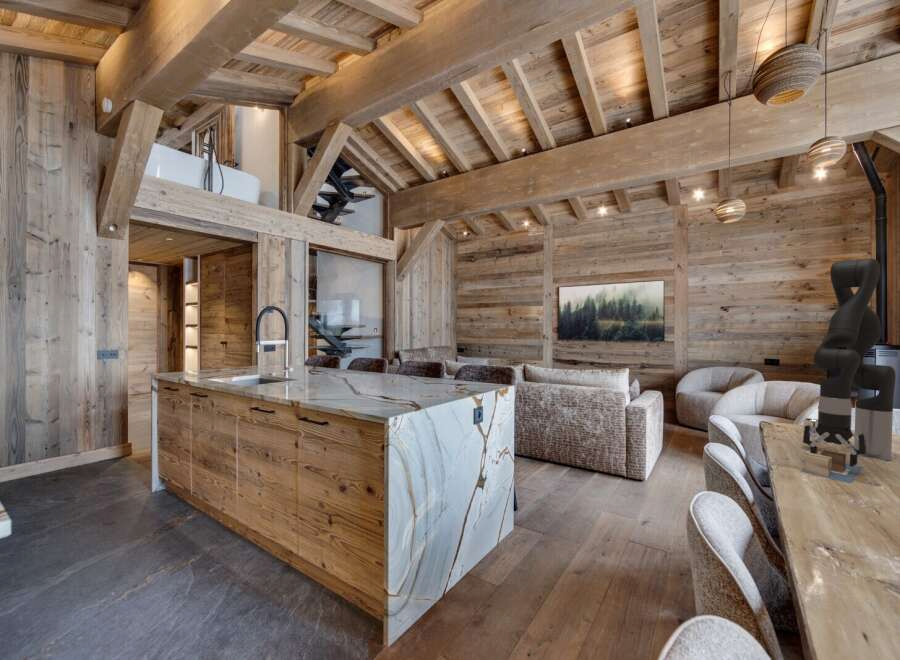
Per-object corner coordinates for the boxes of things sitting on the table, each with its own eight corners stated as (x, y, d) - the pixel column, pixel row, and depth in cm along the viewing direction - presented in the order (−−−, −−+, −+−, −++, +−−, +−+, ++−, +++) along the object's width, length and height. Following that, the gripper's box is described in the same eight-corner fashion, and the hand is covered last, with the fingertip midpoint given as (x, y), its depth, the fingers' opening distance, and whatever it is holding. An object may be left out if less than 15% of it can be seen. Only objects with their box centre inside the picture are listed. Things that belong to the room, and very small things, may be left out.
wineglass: (827, 455, 143) (828, 422, 143) (808, 453, 144) (809, 421, 144) (815, 450, 148) (816, 418, 148) (798, 449, 150) (799, 417, 149)
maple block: (809, 468, 125) (810, 452, 125) (831, 473, 121) (831, 457, 121) (805, 471, 122) (806, 455, 122) (827, 476, 118) (828, 460, 118)
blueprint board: (817, 460, 136) (817, 457, 136) (863, 470, 128) (863, 466, 128) (800, 474, 123) (800, 471, 123) (850, 486, 114) (850, 482, 114)
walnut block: (824, 465, 128) (824, 449, 128) (845, 469, 124) (846, 454, 124) (820, 468, 125) (821, 452, 125) (842, 473, 122) (842, 457, 121)
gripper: (868, 414, 121) (867, 466, 122) (807, 406, 133) (806, 453, 133) (864, 417, 117) (863, 471, 117) (801, 408, 128) (800, 457, 128)
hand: (832, 462), depth 125 cm, fingers open, 8 cm apart
